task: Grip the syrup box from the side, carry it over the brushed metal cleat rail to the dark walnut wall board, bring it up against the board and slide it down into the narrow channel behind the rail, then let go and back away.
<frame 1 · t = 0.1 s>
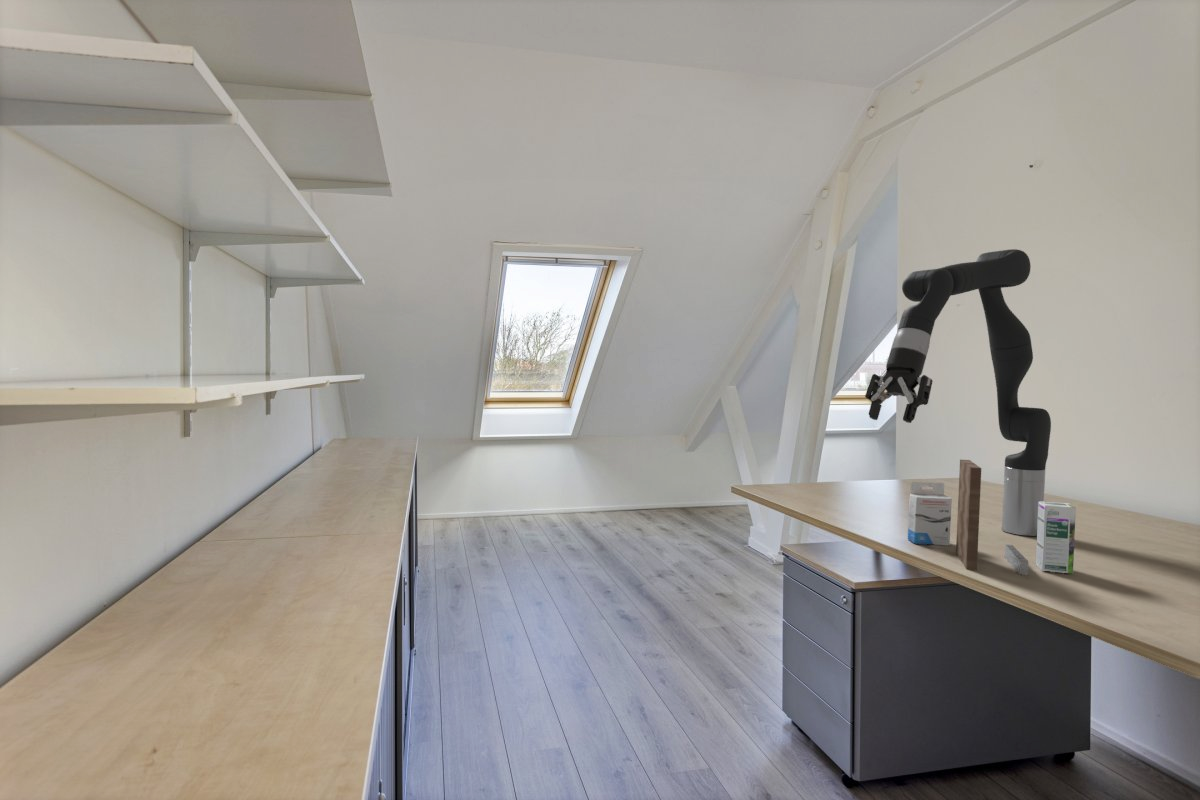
hand: (889, 420, 153), 31 cm above the table, tool tilted 20°, fingers open, 8 cm apart
ink box: (928, 543, 171), on the table
syrup box: (1053, 570, 150), on the table
wall board: (991, 563, 154), on the table
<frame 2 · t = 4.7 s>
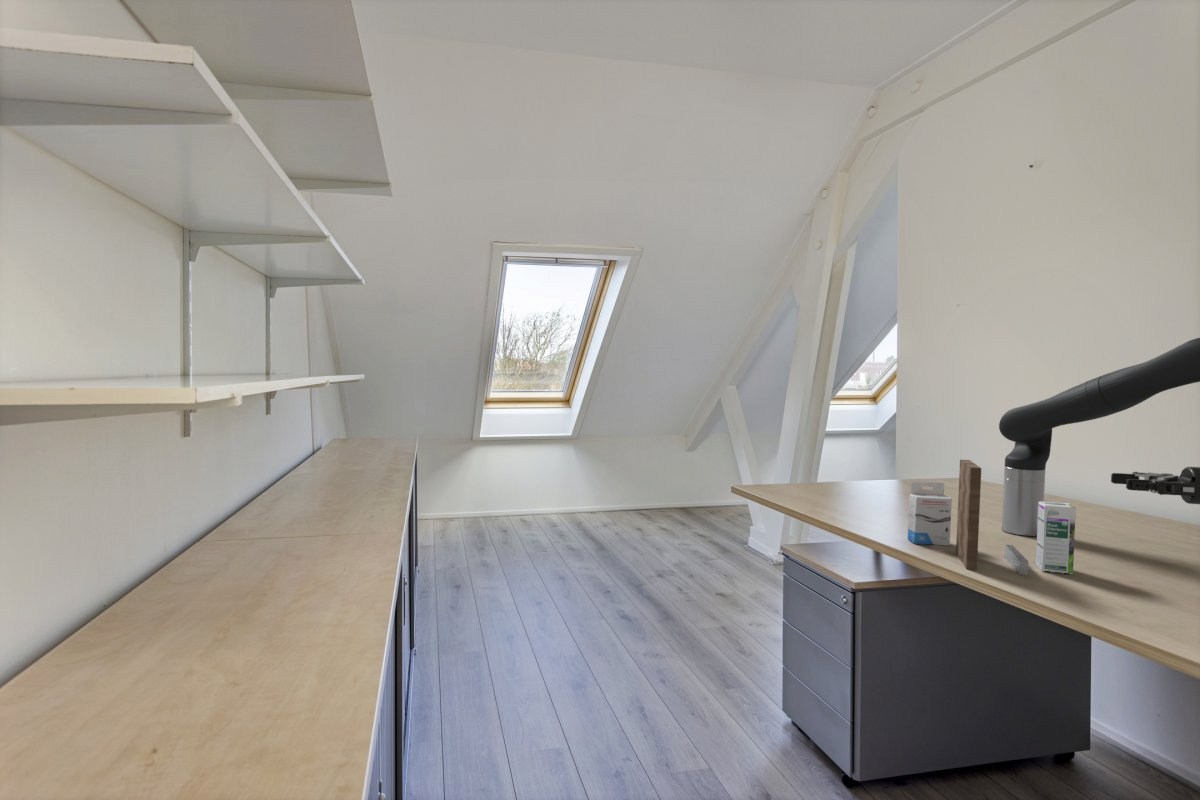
hand: (1119, 481, 145), 20 cm above the table, tool horizontal, fingers open, 8 cm apart
nothing on the table moved.
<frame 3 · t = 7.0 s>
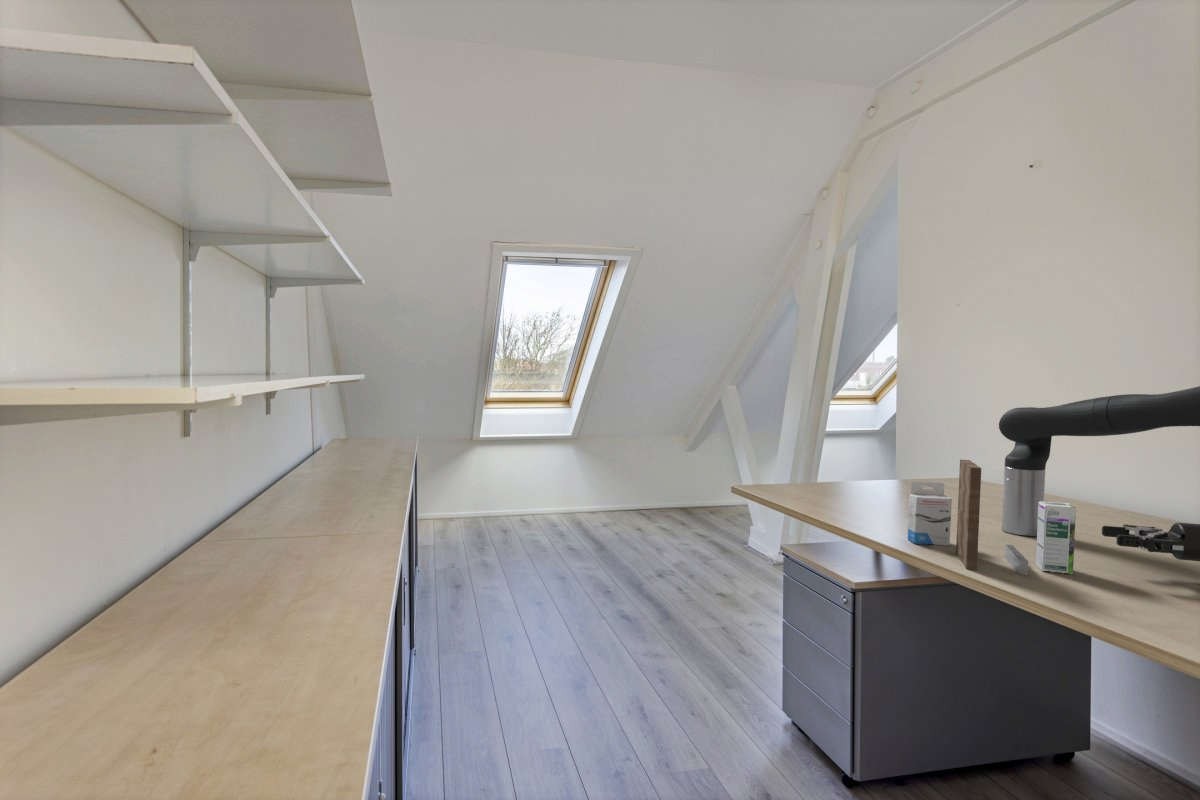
hand: (1109, 535, 146), 8 cm above the table, tool horizontal, fingers open, 8 cm apart
nothing on the table moved.
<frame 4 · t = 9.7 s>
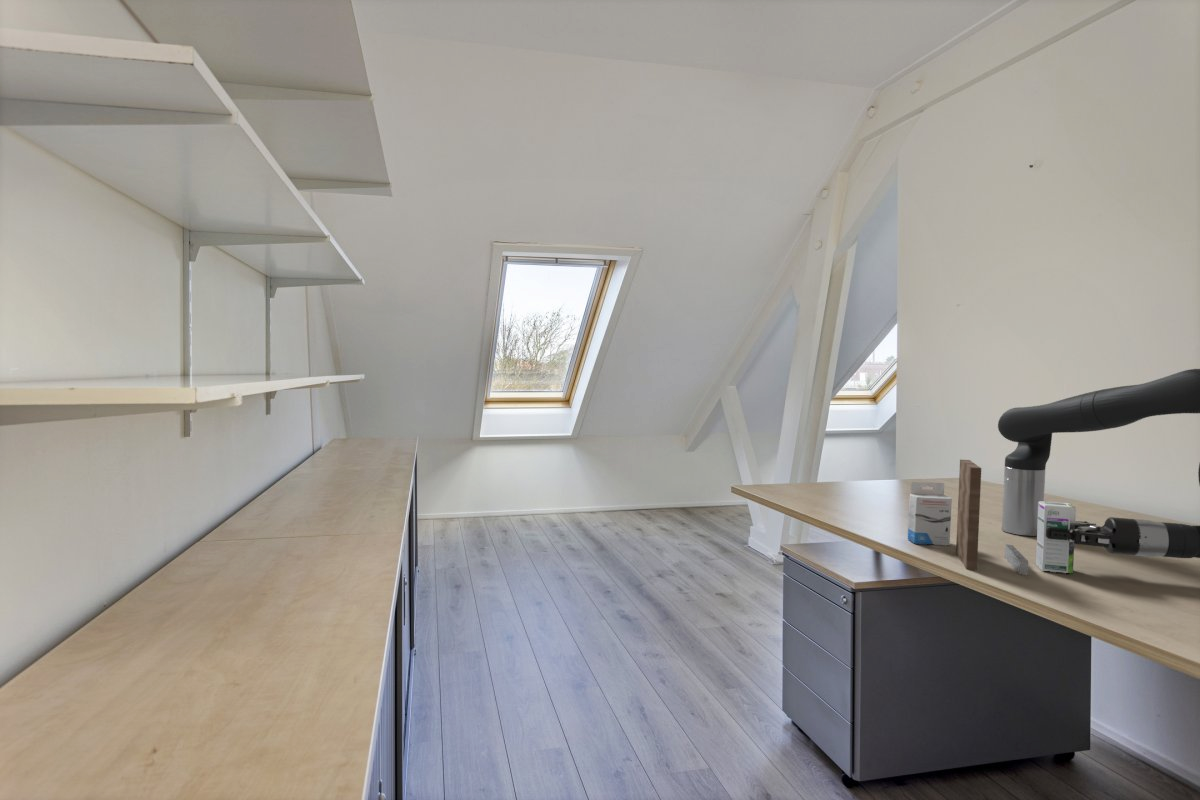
hand: (1042, 529, 150), 9 cm above the table, tool horizontal, fingers closed on syrup box, 6 cm apart
syrup box: (1053, 570, 150), on the table, touching gripper
everything else where it was.
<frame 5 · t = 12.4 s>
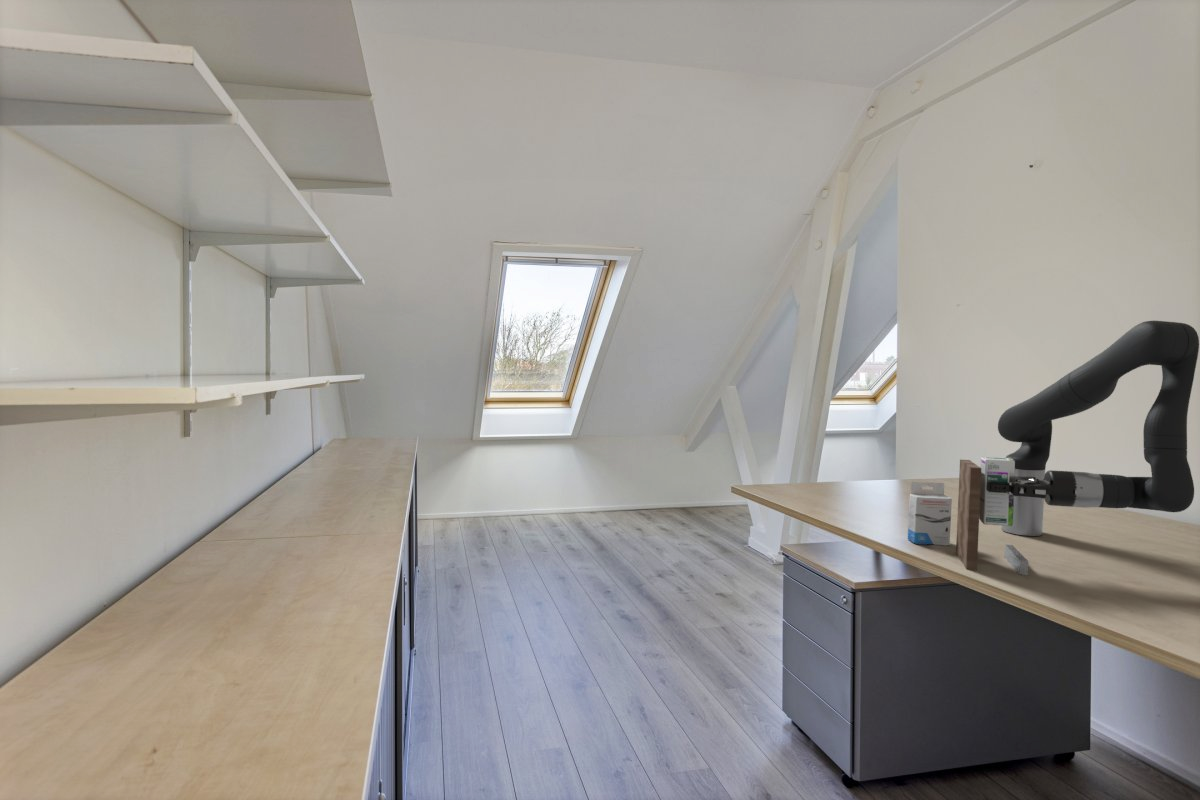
hand: (984, 484, 153), 18 cm above the table, tool horizontal, fingers closed on syrup box, 6 cm apart
syrup box: (995, 523, 153), point 9 cm above the table, touching gripper
everything else where it was.
when the fingers open (10 cm above the table, at t = 15.3 s): syrup box drops 1 cm, on the table.
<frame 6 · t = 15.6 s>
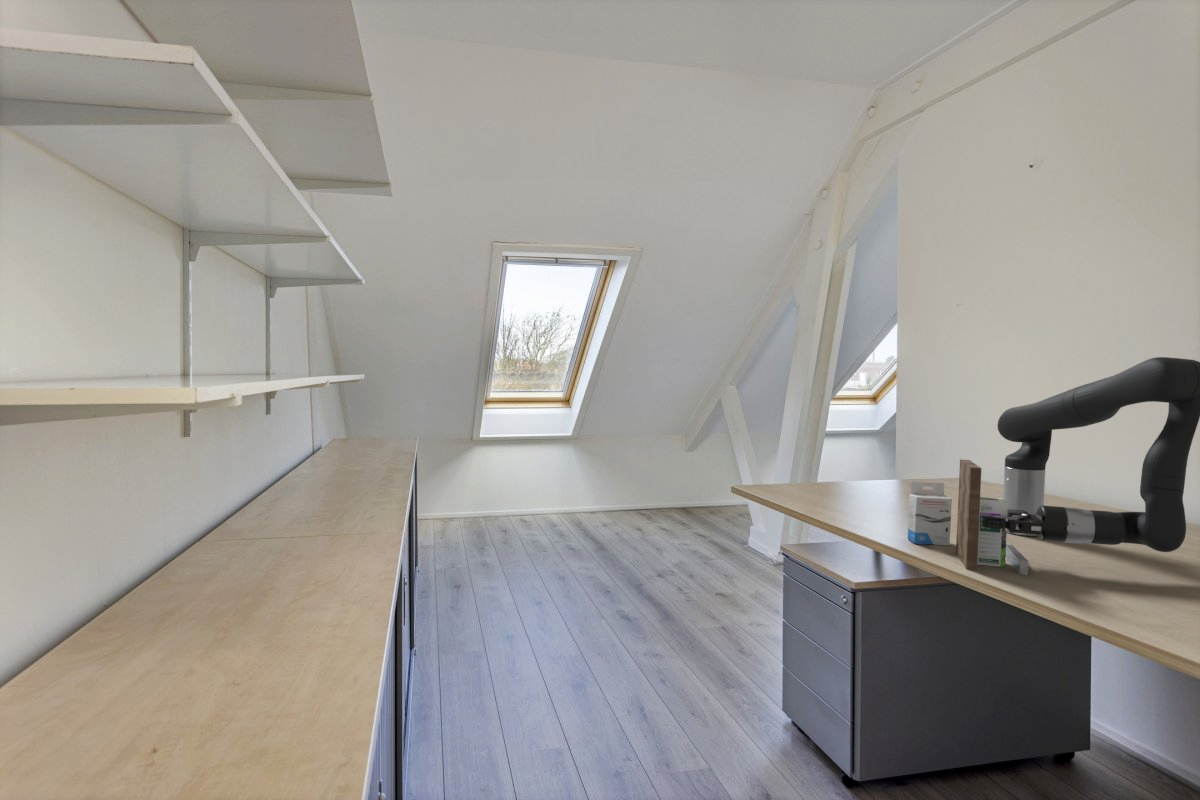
hand: (979, 517, 154), 10 cm above the table, tool horizontal, fingers open, 8 cm apart
syrup box: (987, 564, 154), on the table
everything else where it was.
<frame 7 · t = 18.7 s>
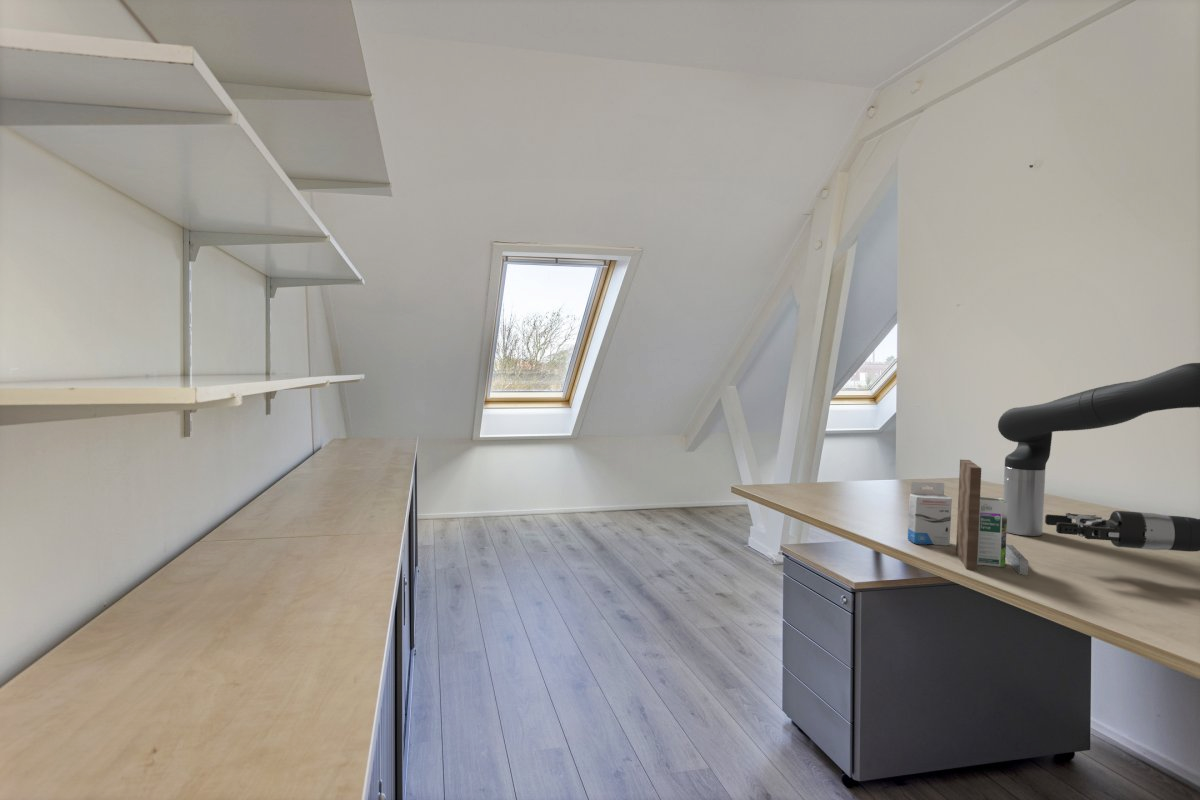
hand: (1051, 523, 149), 10 cm above the table, tool horizontal, fingers open, 8 cm apart
nothing on the table moved.
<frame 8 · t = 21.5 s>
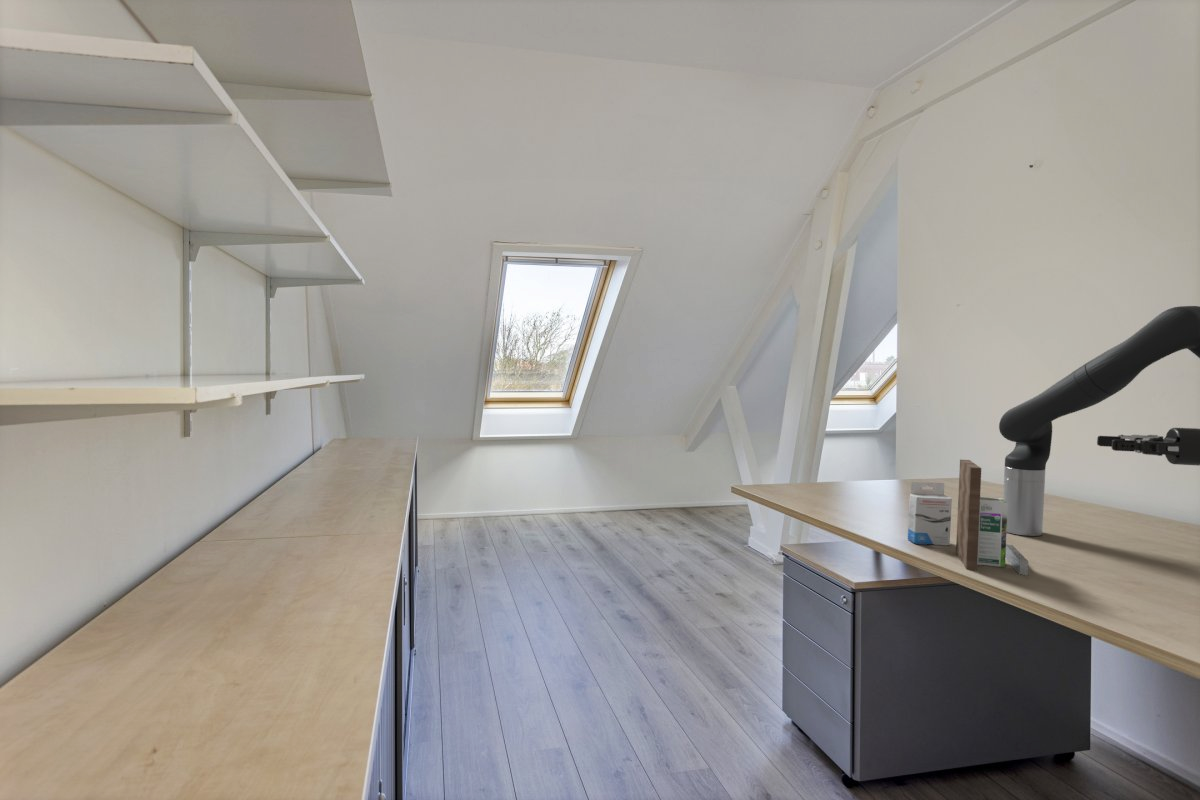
hand: (1104, 442, 146), 28 cm above the table, tool horizontal, fingers open, 8 cm apart
nothing on the table moved.
at the end: syrup box inside the target area on the wall board (0.6 cm from its centre), point 0.0 cm above the wall board's base; syrup box tilted 0°; the gripper is holding nothing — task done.
